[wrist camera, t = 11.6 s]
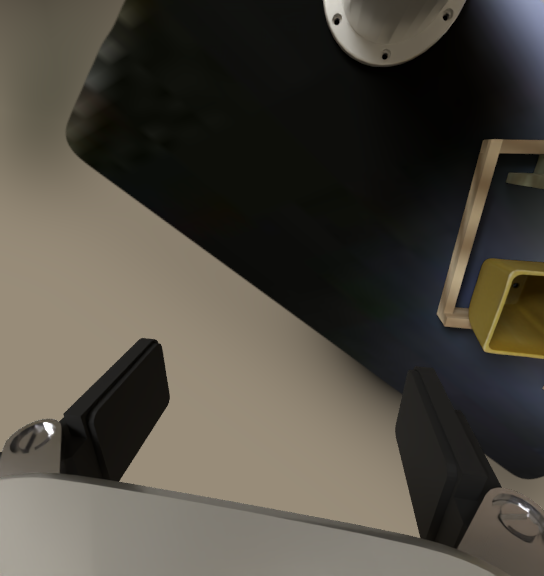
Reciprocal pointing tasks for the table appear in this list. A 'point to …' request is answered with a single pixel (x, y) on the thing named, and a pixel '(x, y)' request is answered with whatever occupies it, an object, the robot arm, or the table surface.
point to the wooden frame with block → (472, 215)
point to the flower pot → (509, 308)
